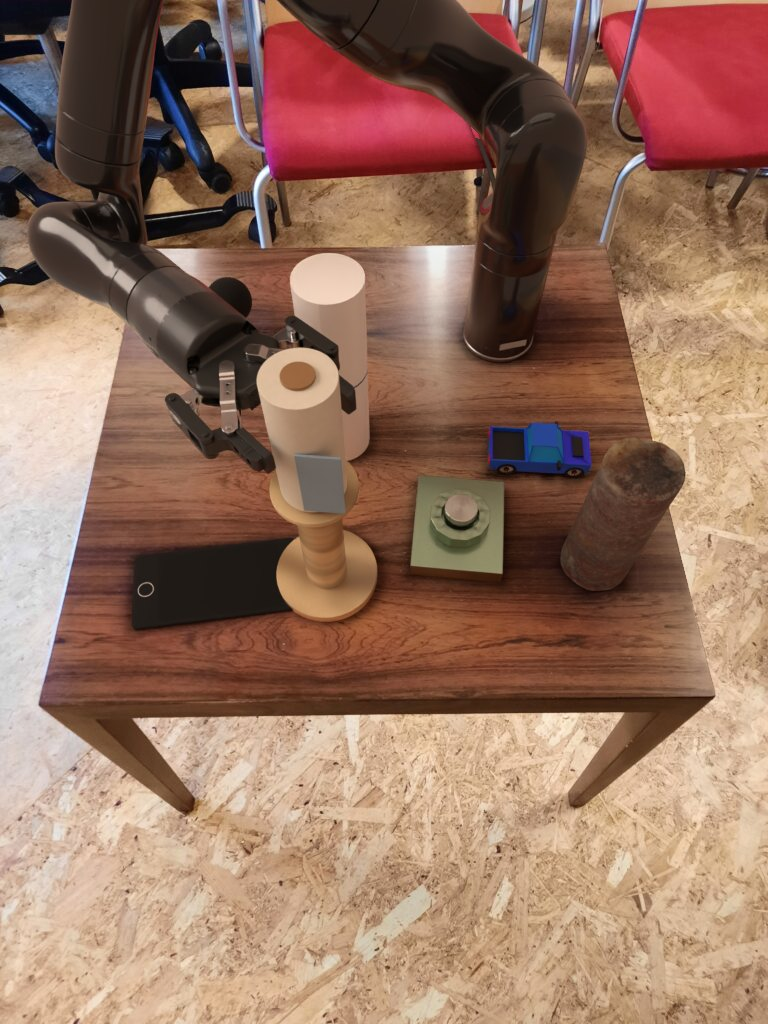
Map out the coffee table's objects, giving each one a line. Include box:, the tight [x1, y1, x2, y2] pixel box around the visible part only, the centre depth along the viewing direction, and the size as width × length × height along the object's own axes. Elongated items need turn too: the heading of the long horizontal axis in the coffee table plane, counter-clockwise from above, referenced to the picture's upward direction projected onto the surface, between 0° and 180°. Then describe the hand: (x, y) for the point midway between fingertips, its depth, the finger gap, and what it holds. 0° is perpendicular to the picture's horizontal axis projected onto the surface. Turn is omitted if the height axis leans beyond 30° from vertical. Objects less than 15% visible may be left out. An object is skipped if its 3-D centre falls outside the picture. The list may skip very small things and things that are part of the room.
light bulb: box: [208, 276, 253, 319], centre depth 95 cm, size 6×6×10 cm
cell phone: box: [131, 537, 296, 631], centre depth 81 cm, size 9×18×1 cm, turn 98°
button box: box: [409, 474, 505, 584], centre depth 82 cm, size 12×10×4 cm
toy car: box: [486, 421, 592, 480], centre depth 87 cm, size 7×12×5 cm, turn 86°
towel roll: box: [257, 348, 347, 514], centre depth 59 cm, size 6×6×14 cm
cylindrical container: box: [289, 252, 371, 462], centre depth 80 cm, size 7×7×25 cm
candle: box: [560, 436, 687, 592], centre depth 73 cm, size 8×7×20 cm
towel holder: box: [268, 460, 378, 623], centre depth 73 cm, size 11×11×18 cm
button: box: [444, 494, 478, 530], centre depth 80 cm, size 4×4×2 cm
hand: (313, 434), depth 58 cm, fingers open, 8 cm apart
